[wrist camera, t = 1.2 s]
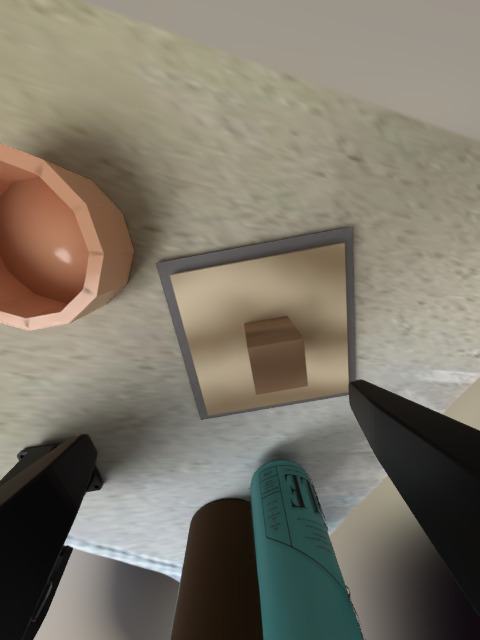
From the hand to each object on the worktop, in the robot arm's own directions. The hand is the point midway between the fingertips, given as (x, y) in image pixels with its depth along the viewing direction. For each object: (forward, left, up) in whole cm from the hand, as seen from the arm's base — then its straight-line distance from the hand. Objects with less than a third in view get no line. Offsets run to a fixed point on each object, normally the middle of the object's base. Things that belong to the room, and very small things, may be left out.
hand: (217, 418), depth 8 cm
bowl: (+7, +11, -13) cm, 18 cm away
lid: (-3, -3, -12) cm, 13 cm away
